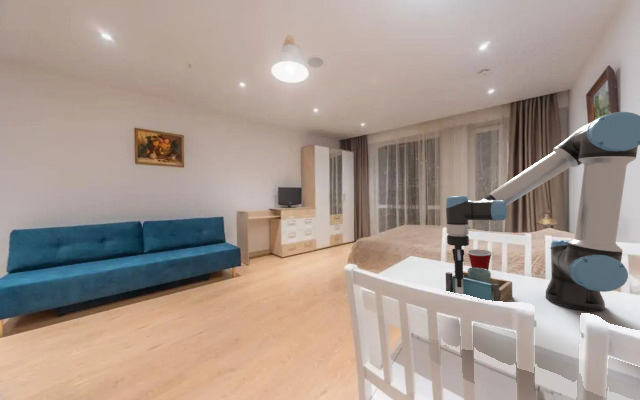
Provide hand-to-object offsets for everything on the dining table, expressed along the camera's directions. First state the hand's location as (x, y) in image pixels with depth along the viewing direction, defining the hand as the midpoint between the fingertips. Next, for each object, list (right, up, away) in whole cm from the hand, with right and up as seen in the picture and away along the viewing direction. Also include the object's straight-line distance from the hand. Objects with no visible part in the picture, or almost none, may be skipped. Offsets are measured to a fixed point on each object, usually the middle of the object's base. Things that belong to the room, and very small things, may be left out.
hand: (459, 294), depth 96 cm
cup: (+10, -2, +4) cm, 11 cm away
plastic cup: (+26, -1, +27) cm, 37 cm away
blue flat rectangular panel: (+5, -1, 0) cm, 5 cm away
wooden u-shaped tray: (+10, -1, +4) cm, 11 cm away
